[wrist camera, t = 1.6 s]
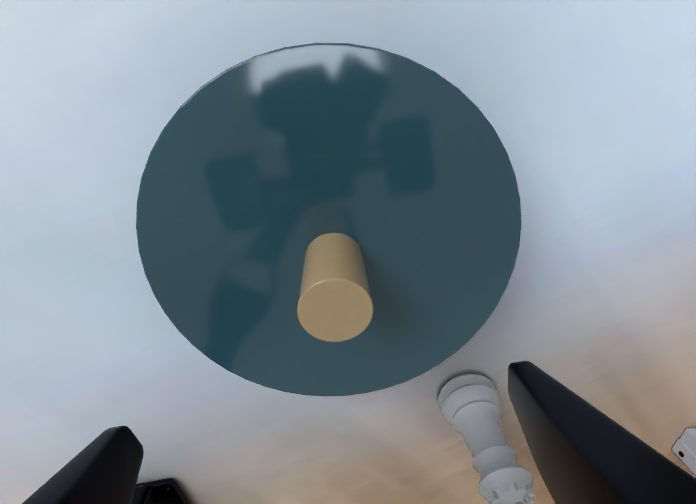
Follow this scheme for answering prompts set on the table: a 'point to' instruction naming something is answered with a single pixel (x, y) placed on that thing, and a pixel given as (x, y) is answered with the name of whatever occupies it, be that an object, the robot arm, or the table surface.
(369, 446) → the table surface
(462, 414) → the rook chess piece
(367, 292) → the lid
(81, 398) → the table surface
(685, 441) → the walkman
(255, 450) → the table surface
